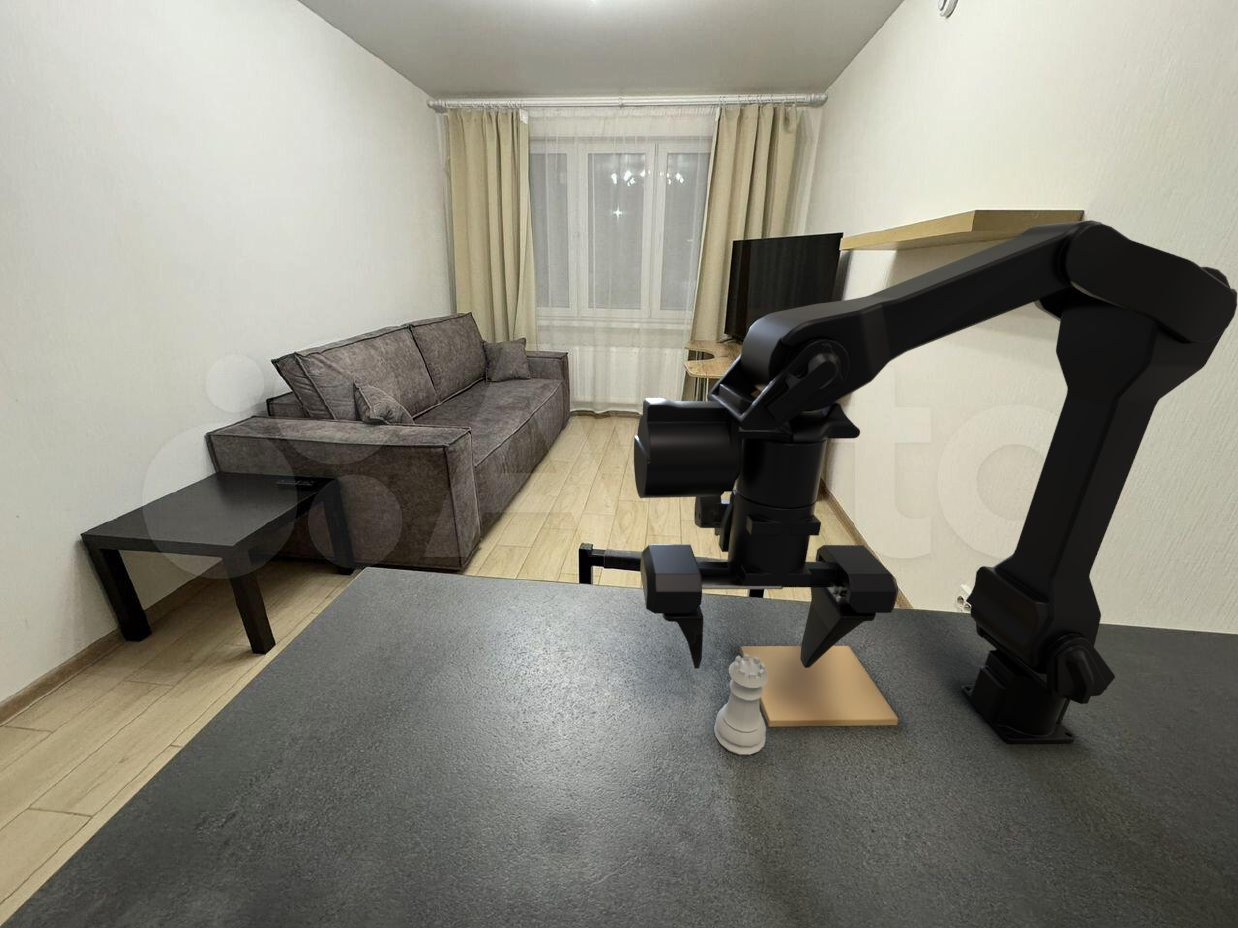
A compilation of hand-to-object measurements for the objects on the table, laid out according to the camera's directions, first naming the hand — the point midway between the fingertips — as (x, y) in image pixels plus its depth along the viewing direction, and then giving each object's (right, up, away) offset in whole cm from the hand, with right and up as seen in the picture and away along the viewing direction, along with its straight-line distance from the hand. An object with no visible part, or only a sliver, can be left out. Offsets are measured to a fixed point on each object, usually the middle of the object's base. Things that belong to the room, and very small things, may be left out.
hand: (750, 664), depth 43 cm
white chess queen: (0, -8, +3) cm, 8 cm away
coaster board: (+8, -6, +9) cm, 13 cm away
